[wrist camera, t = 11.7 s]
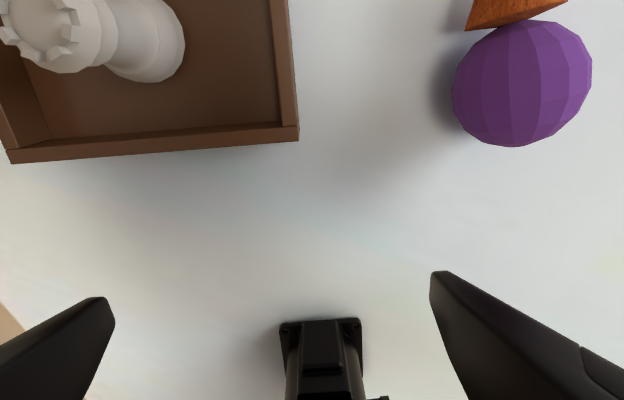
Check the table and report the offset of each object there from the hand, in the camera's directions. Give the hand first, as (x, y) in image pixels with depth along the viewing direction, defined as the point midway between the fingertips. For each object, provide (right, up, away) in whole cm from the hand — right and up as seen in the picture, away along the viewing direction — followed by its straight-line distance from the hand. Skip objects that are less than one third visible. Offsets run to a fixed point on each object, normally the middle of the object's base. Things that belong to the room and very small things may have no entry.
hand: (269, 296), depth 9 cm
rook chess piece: (-8, +11, +9) cm, 16 cm away
